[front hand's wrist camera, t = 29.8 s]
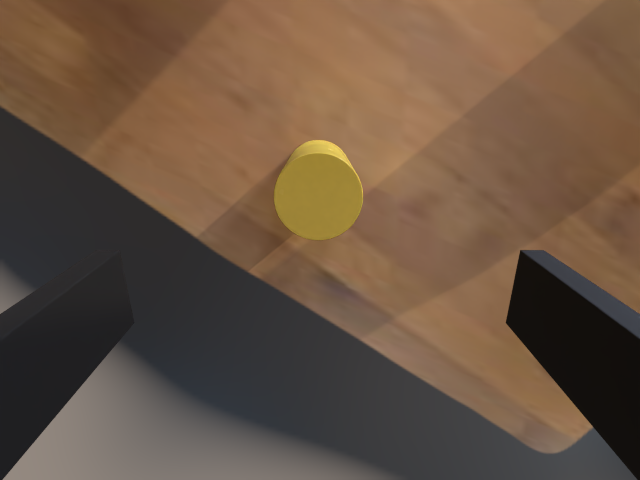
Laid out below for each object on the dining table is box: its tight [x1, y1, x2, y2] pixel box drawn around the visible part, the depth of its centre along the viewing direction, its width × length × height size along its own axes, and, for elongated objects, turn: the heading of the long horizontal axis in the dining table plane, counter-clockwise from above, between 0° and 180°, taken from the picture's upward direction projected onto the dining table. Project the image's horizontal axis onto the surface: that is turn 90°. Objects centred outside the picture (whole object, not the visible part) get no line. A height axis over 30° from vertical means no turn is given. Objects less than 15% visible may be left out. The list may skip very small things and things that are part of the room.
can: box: [274, 140, 363, 240], centre depth 32 cm, size 6×6×11 cm
